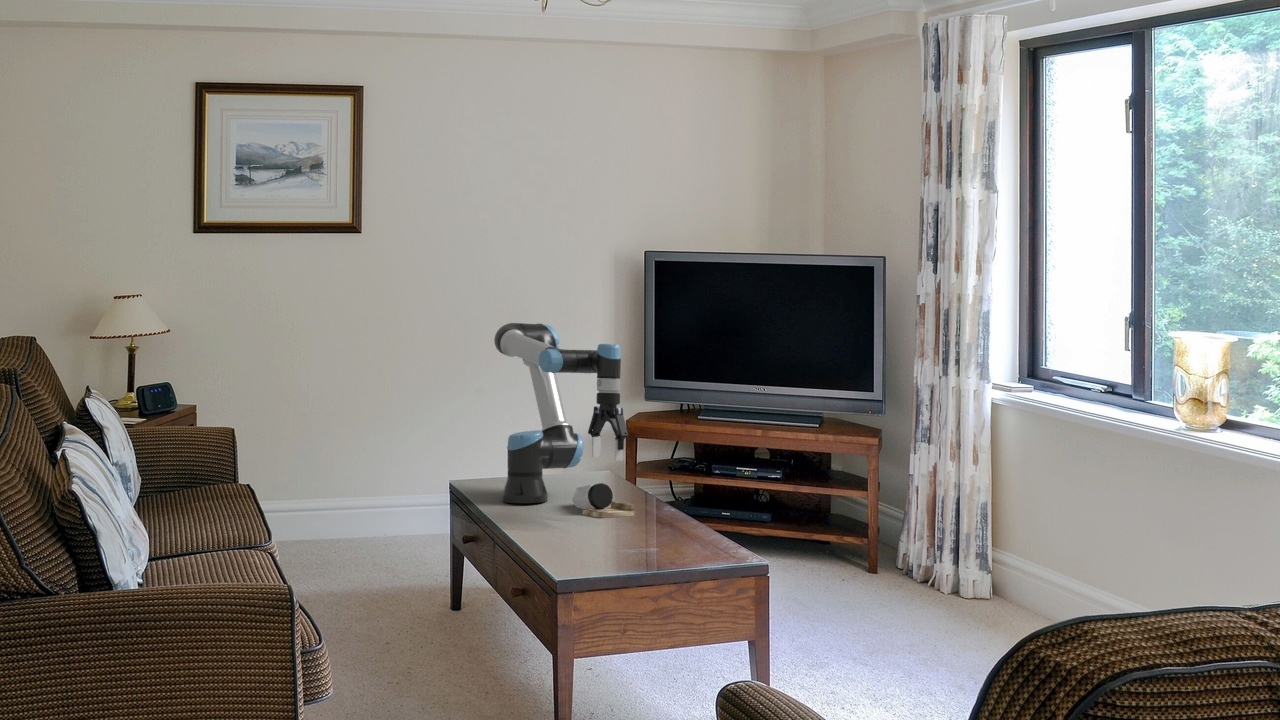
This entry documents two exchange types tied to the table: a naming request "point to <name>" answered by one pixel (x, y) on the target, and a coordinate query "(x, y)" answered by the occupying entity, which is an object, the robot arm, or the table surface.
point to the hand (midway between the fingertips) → (607, 458)
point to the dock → (611, 511)
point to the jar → (593, 496)
